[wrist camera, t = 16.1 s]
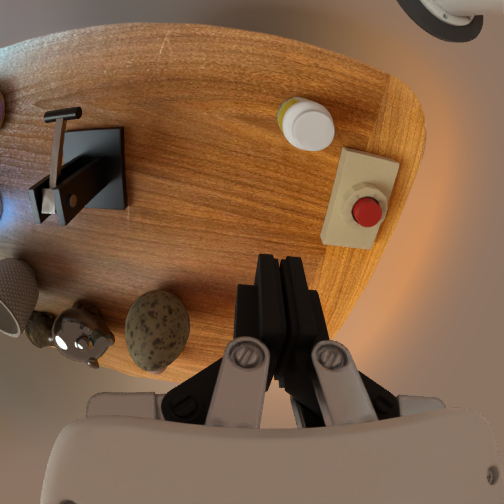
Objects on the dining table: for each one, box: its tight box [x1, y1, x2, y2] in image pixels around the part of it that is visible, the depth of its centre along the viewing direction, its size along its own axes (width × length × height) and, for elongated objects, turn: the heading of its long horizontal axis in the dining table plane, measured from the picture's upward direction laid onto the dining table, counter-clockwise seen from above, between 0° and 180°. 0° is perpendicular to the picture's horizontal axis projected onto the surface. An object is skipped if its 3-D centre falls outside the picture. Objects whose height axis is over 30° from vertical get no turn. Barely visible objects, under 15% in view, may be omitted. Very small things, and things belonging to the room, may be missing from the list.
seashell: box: [25, 311, 55, 348], centre depth 53 cm, size 16×9×7 cm, turn 91°
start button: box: [353, 197, 382, 227], centre depth 35 cm, size 4×4×2 cm
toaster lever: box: [42, 107, 82, 214], centre depth 25 cm, size 12×5×2 cm, turn 173°
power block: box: [320, 147, 400, 250], centre depth 37 cm, size 14×8×4 cm, turn 173°
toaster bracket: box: [28, 127, 128, 226], centre depth 30 cm, size 12×10×13 cm
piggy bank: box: [48, 302, 115, 369], centre depth 48 cm, size 11×15×12 cm
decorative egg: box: [125, 290, 190, 371], centre depth 43 cm, size 11×11×15 cm
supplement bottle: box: [277, 97, 335, 151], centre depth 28 cm, size 5×5×10 cm
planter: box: [0, 258, 39, 337], centre depth 41 cm, size 14×14×13 cm
